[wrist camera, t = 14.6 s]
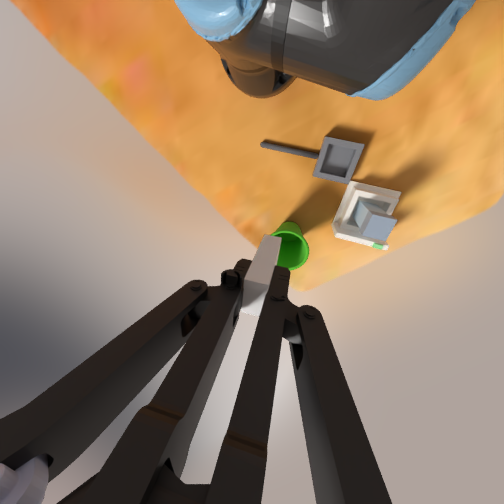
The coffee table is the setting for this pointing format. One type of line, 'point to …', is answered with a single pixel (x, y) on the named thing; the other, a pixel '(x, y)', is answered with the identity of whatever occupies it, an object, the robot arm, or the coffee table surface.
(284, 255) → the cup
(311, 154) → the cord
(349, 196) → the tray
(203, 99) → the coffee table surface
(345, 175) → the grey square socket
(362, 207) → the plug
